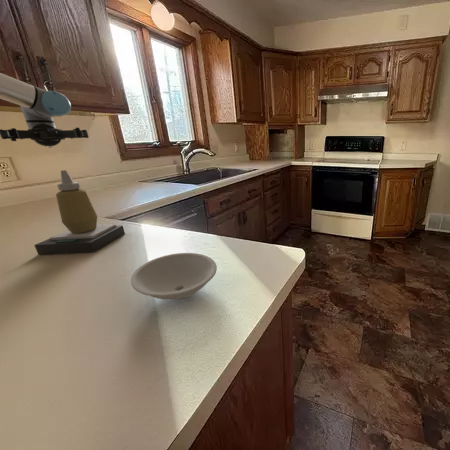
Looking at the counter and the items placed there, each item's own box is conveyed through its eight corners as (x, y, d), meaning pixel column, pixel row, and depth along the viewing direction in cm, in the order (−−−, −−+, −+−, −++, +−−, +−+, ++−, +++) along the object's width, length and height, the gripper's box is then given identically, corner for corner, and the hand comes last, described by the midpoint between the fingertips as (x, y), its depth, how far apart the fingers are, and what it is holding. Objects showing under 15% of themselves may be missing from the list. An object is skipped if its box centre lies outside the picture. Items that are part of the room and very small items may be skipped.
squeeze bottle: (103, 229, 74) (84, 169, 68) (68, 237, 69) (44, 173, 63) (98, 224, 80) (80, 168, 74) (65, 231, 74) (42, 171, 68)
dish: (236, 292, 48) (233, 270, 47) (159, 334, 38) (151, 308, 37) (193, 265, 60) (190, 246, 58) (125, 292, 49) (118, 270, 48)
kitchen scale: (38, 254, 68) (32, 242, 66) (78, 235, 81) (74, 225, 80) (94, 252, 68) (89, 239, 67) (125, 233, 81) (122, 223, 80)
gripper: (93, 144, 97) (103, 144, 83) (-3, 147, 80) (-10, 148, 66) (87, 124, 95) (96, 120, 81) (-13, 123, 78) (-23, 118, 64)
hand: (48, 133), depth 73 cm, fingers open, 13 cm apart
